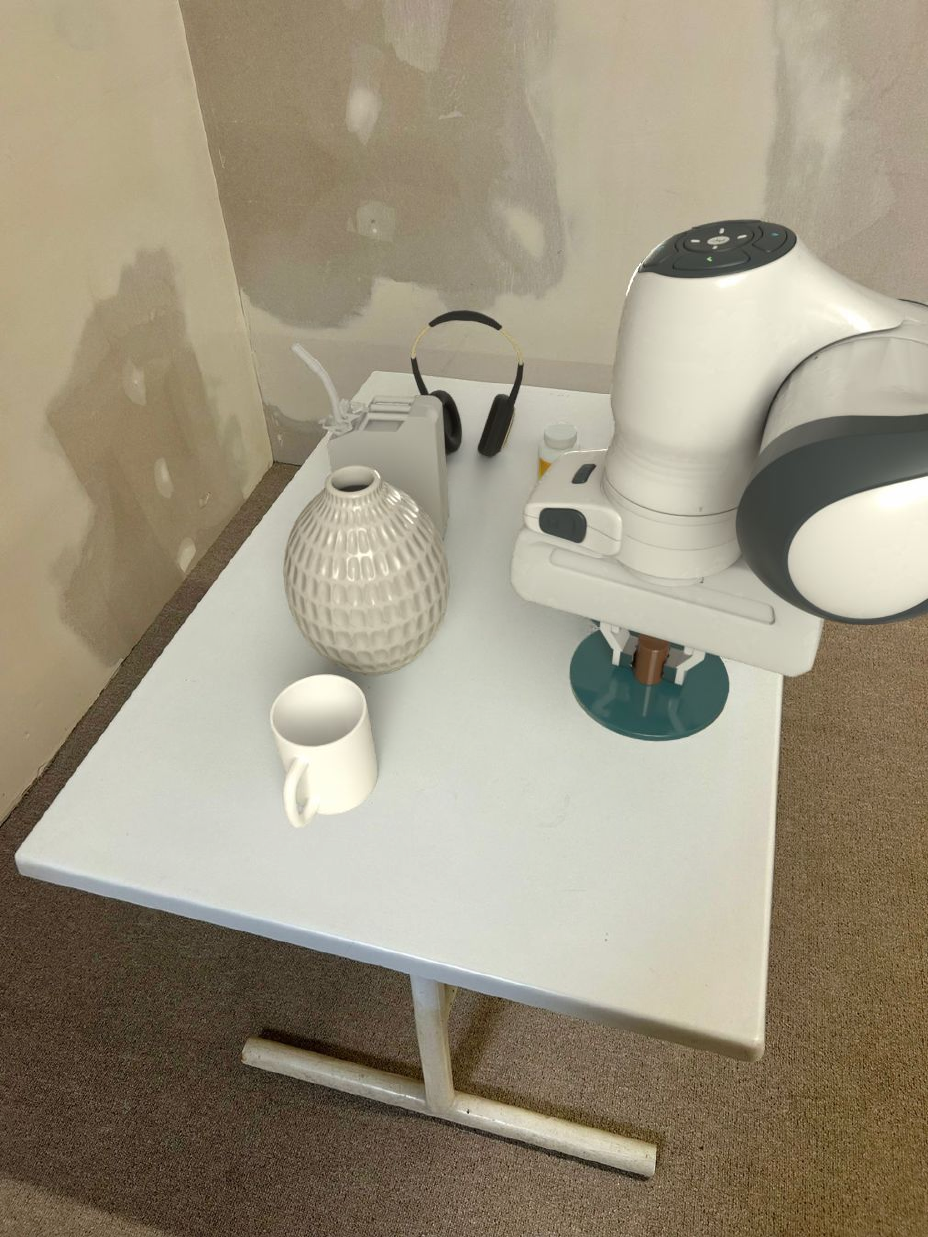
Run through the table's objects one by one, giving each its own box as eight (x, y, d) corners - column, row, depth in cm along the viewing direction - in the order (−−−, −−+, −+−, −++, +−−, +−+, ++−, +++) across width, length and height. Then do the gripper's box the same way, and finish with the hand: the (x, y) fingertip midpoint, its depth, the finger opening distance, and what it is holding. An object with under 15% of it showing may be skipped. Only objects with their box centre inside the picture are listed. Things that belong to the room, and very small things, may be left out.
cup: (391, 754, 83) (380, 683, 76) (343, 862, 74) (326, 795, 67) (312, 736, 85) (294, 666, 78) (257, 840, 76) (231, 772, 69)
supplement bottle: (532, 485, 114) (534, 421, 107) (572, 480, 114) (576, 416, 107) (541, 509, 110) (543, 444, 103) (582, 504, 110) (587, 439, 104)
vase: (473, 615, 96) (466, 443, 81) (424, 724, 85) (405, 549, 70) (339, 589, 100) (308, 420, 85) (276, 690, 89) (228, 518, 74)
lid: (742, 656, 64) (755, 610, 61) (703, 769, 57) (715, 723, 54) (598, 614, 68) (603, 569, 65) (545, 715, 61) (547, 670, 57)
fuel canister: (321, 537, 107) (285, 348, 90) (332, 512, 111) (298, 327, 94) (443, 544, 105) (429, 353, 88) (449, 519, 109) (437, 331, 92)
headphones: (425, 430, 124) (414, 294, 111) (526, 437, 122) (528, 299, 108) (411, 463, 118) (398, 324, 105) (518, 471, 116) (519, 330, 102)
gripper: (865, 522, 50) (808, 682, 60) (538, 448, 57) (534, 602, 67) (849, 589, 46) (791, 749, 56) (499, 501, 53) (501, 656, 63)
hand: (649, 668), depth 61 cm, fingers closed on lid, 2 cm apart
